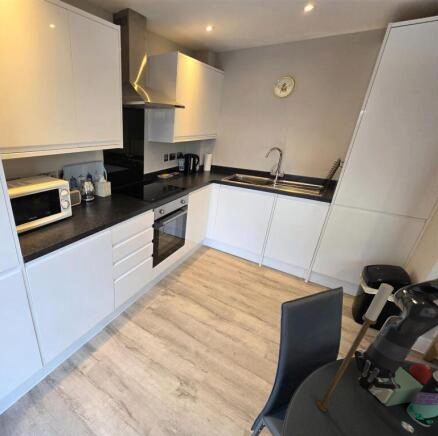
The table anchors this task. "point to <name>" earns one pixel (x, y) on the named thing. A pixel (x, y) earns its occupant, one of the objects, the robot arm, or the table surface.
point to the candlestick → (345, 363)
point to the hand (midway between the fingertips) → (363, 386)
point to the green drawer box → (403, 388)
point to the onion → (421, 373)
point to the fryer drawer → (381, 392)
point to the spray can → (425, 403)
